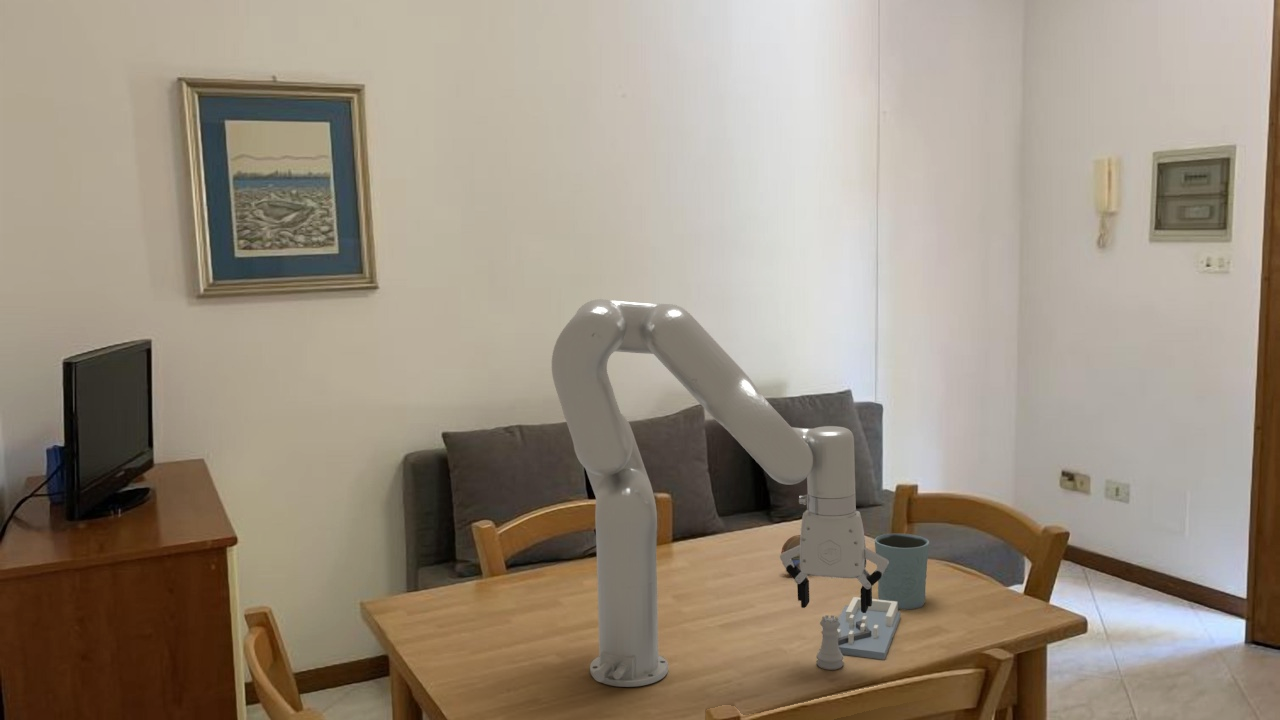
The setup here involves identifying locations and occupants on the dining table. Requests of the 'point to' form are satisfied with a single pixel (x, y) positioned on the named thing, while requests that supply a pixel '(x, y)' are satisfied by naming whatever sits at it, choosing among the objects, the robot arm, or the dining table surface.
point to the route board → (868, 628)
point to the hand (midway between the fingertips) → (834, 607)
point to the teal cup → (903, 569)
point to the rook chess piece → (830, 645)
